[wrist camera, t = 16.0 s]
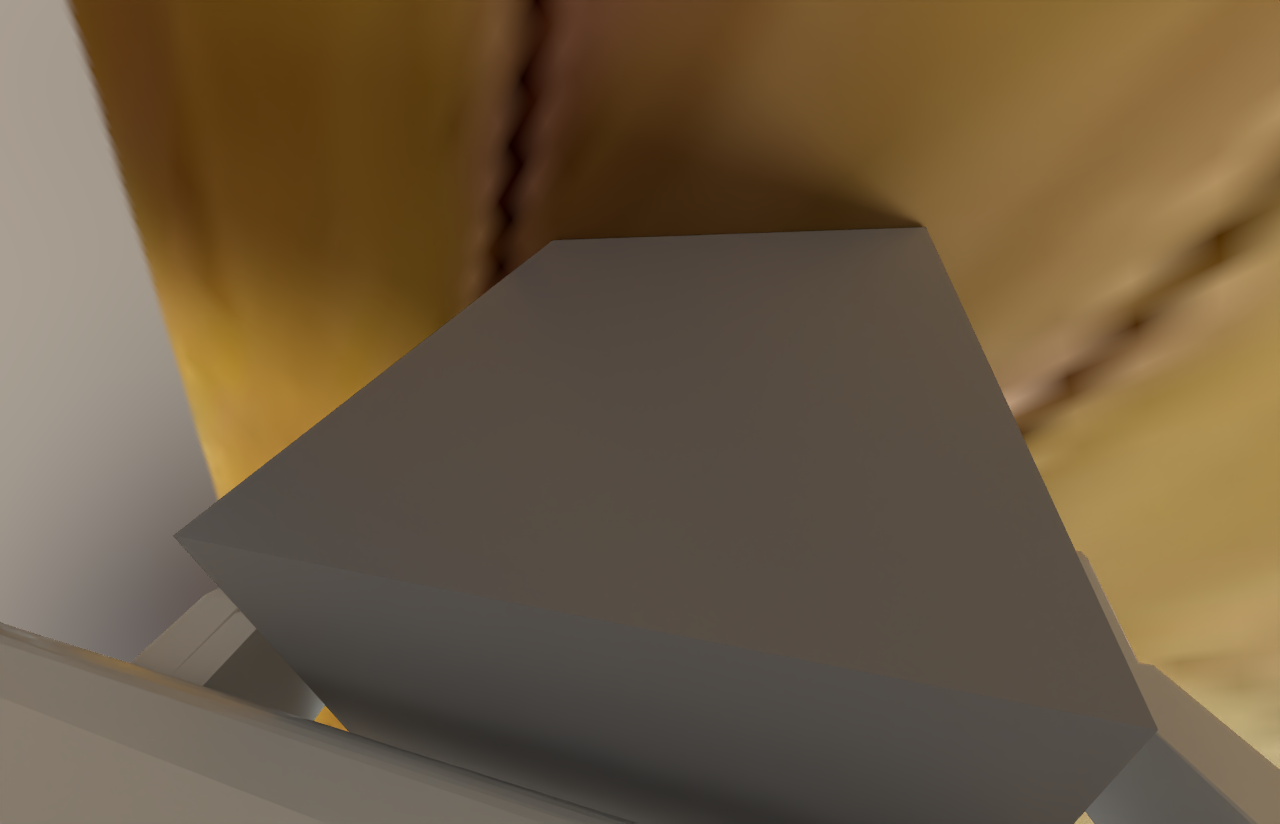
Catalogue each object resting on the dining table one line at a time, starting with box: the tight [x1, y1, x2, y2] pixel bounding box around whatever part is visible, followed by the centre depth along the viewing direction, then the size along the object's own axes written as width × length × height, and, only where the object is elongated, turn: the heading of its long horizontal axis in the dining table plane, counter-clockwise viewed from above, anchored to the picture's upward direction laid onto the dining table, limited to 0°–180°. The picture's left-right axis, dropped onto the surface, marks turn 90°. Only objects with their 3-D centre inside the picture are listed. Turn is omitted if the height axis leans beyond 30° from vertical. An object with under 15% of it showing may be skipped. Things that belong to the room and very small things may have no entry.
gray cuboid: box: [173, 227, 1158, 824], centre depth 9 cm, size 8×8×9 cm
